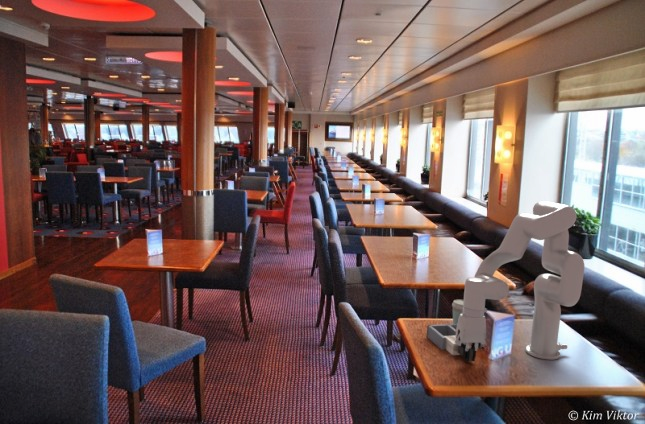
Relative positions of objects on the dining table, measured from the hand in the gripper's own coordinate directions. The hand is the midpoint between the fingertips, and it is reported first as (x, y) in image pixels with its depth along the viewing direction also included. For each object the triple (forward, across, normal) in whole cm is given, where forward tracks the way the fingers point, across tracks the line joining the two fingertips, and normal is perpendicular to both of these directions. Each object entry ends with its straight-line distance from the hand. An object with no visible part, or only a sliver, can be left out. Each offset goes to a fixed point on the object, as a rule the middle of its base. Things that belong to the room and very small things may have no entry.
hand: (468, 359), depth 195 cm
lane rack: (+1, -4, -19) cm, 19 cm away
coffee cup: (+1, -14, -33) cm, 36 cm away
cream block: (+1, 0, -7) cm, 7 cm away
